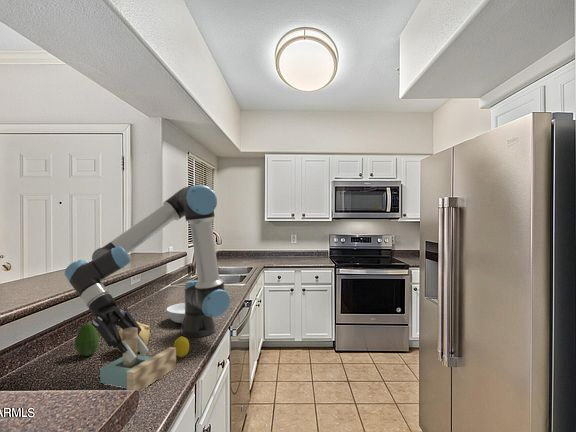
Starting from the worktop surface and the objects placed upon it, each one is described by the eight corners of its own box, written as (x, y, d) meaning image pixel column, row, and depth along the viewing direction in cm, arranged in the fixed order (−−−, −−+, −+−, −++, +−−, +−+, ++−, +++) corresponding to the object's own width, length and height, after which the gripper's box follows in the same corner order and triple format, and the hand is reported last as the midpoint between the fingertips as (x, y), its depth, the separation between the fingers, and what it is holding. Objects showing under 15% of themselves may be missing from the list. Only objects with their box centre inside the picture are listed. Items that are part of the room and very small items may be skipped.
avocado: (93, 349, 138) (93, 318, 138) (102, 354, 133) (102, 322, 133) (71, 355, 132) (71, 323, 132) (79, 361, 127) (79, 328, 127)
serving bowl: (199, 329, 162) (199, 314, 162) (157, 326, 166) (157, 311, 166) (217, 316, 182) (217, 303, 182) (180, 314, 187) (179, 301, 187)
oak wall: (170, 367, 122) (170, 346, 122) (176, 368, 121) (176, 347, 121) (126, 395, 103) (126, 371, 103) (133, 396, 102) (133, 372, 102)
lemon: (170, 358, 130) (170, 336, 130) (183, 353, 134) (183, 332, 134) (179, 362, 126) (179, 339, 126) (192, 357, 131) (192, 335, 131)
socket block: (128, 368, 122) (128, 353, 122) (158, 373, 118) (158, 358, 118) (100, 384, 110) (100, 368, 110) (131, 390, 106) (131, 373, 106)
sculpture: (153, 344, 143) (153, 318, 143) (142, 356, 131) (141, 327, 131) (124, 345, 143) (124, 318, 143) (110, 357, 131) (110, 328, 131)
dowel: (129, 369, 117) (129, 326, 117) (140, 371, 115) (140, 328, 115) (119, 374, 113) (119, 330, 112) (130, 376, 111) (130, 332, 111)
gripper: (113, 301, 127) (151, 352, 122) (68, 315, 110) (110, 375, 105) (125, 287, 125) (164, 339, 120) (81, 299, 108) (125, 360, 103)
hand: (139, 356), depth 113 cm, fingers open, 5 cm apart
